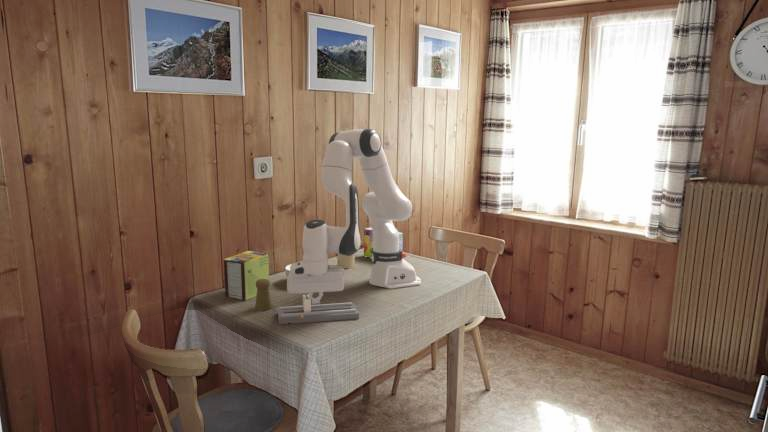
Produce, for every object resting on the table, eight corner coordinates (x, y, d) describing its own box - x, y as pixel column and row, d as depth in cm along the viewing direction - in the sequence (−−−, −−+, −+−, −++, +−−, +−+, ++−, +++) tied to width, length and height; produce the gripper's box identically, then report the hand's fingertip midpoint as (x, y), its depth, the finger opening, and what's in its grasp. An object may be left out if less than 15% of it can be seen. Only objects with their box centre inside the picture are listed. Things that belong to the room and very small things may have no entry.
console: (353, 307, 203) (353, 300, 202) (358, 318, 192) (359, 311, 192) (277, 313, 196) (277, 305, 196) (278, 324, 186) (278, 316, 185)
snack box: (403, 262, 266) (403, 232, 263) (396, 264, 262) (396, 234, 259) (369, 255, 279) (370, 226, 276) (362, 257, 275) (363, 228, 272)
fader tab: (309, 307, 196) (309, 294, 195) (311, 312, 191) (310, 298, 190) (303, 308, 195) (302, 294, 194) (304, 313, 190) (304, 299, 189)
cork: (256, 305, 204) (255, 277, 202) (272, 304, 205) (271, 277, 203) (254, 310, 198) (253, 282, 196) (270, 310, 199) (269, 281, 197)
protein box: (269, 289, 222) (268, 253, 219) (245, 301, 208) (244, 262, 205) (249, 286, 226) (248, 250, 224) (224, 297, 213) (222, 259, 210)
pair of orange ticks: (300, 306, 198) (300, 305, 198) (303, 317, 187) (303, 316, 187) (298, 306, 198) (298, 305, 198) (301, 317, 187) (301, 316, 187)
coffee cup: (338, 263, 262) (338, 239, 260) (357, 264, 261) (357, 240, 259) (334, 268, 253) (334, 243, 251) (353, 269, 252) (353, 244, 250)
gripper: (343, 262, 196) (343, 298, 198) (286, 265, 191) (286, 302, 194) (346, 267, 190) (345, 304, 192) (287, 270, 185) (287, 308, 188)
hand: (315, 303), depth 193 cm, fingers closed
